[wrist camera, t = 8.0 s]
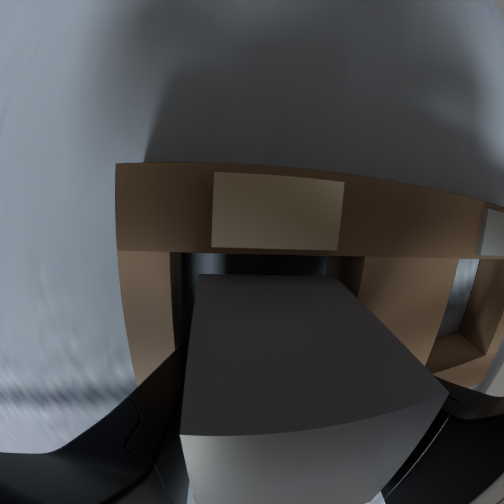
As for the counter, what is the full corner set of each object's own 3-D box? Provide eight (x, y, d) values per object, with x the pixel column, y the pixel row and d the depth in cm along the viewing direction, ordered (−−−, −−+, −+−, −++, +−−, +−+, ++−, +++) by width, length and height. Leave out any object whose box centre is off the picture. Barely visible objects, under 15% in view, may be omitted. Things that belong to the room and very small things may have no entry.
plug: (313, 377, 11) (370, 501, 5) (201, 381, 10) (202, 526, 4) (333, 275, 9) (449, 392, 4) (198, 273, 9) (179, 434, 3)
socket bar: (459, 359, 15) (485, 383, 12) (158, 393, 13) (150, 441, 10) (501, 207, 12) (539, 218, 9) (142, 164, 10) (111, 163, 7)
